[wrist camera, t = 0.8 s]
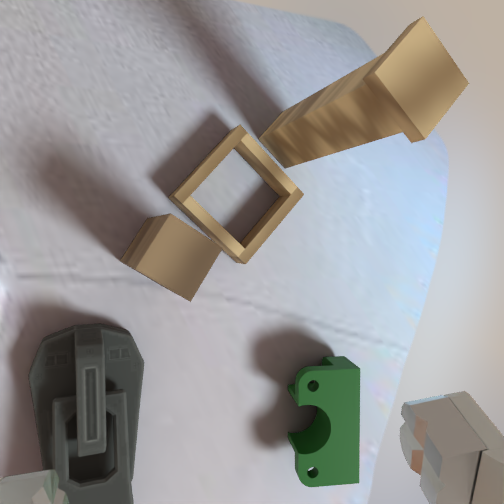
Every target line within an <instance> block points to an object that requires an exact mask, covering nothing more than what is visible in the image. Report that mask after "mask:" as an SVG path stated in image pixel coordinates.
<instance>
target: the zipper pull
mask: <svg viewBox="0 0 504 504" xmlns="http://www.w3.org/2000/svg"><path fill="white" fill-rule="evenodd" d="M143 371H144V361H143V358H142V356H141V354H140V352H139V350H138V348H137V346H136V343H135V341H134V339H133V337H132V335H131V334H130V332H129V331H128V330H124V329H120V328H116V327H112V326H108V325H104V324H88V325H76V326H72V327H70V328H67V329H64V330H62V331H59V332H57V333H54V334H52V335H49V336H47V337H45V338H44V339H43V340H42V342H41V345H40V347H39V349H38V352H37V354H36V357H35V359H34V361H33V364H32V366H31V369H30V373H29V383H30V388H31V394H32V400H33V406H34V412H35V418H36V425H37V431H38V438H39V444H40V451H41V457H42V464H43V470H44V471H45V470H54V469H55V471H56V473H57V475H58V477H59V483H58V487H57V488H58V489H60V490H62V491H64V492H65V493H66V495H67V498H68V501H69V504H133V495H132V486H131V481H132V479H133V472H134V461H135V451H136V440H137V430H138V419H139V408H140V398H141V389H142V380H143Z"/></svg>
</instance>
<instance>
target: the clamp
mask: <svg viewBox="0 0 504 504" xmlns="http://www.w3.org/2000/svg"><path fill="white" fill-rule="evenodd" d="M311 380H315V383H309V382H310V381H311ZM288 391H289V392H290V394H291V396H292V397H293V399H294V400H295V402H296V403H297V405H298V406H302V405H314V406H317V415H316V418H315V420H314V422H313V423H312V424H311V426H310V427H308V428H307V429H306V430H304V431H301V432H298V433H289V432H288V439H289V441H290V443H291V445H292V447H293V449H294V451H295V470H296V473H297V475H298V477H299V479H300V481H301V482H302V483H303V484H304V485H305V486H308V487H319V486H330V485H342V484H354V483H359V435H360V368H359V367H357V366H356V365H355V364H354V363H352V362H351V361H350V360H348V359H347V358H346V357H344V356H337V357H323V359H322V366H308V367H304V368H302V369H301V370H300V371H299V372H298V373H297V375H296V378H295V384H290V385H288ZM311 467H314V468H313V469H312V470H310V471H308V469H309V468H311Z"/></svg>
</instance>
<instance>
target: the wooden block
mask: <svg viewBox="0 0 504 504" xmlns="http://www.w3.org/2000/svg"><path fill="white" fill-rule="evenodd" d="M221 250H222V247H221V246H219V245H218V244H216V243H215V242H213V241H212V240H210V239H209V238H207V237H206V236H204V235H203V234H201V233H200V232H198V231H197V230H195V229H193V228H192V227H190V226H189V225H187V224H186V223H184V222H183V221H181V220H180V219H178V218H177V217H175V216H174V215H172V214H166V215H161V216H156V217H151V218H147V220H146V221H145V223H144V224H143V226H142V227H141V229H140V231H139V232H138V234H137V235H136V237H135V238H134V240H133V241H132V243H131V245H130V246H129V248H128V249H127V251H126V252H125V254H124V255H123V257H122V259H121V260H120V261H121V262H122V263H124V264H126V265H127V266H129V267H131V268H132V269H134V270H136V271H138V272H139V273H141V274H143V275H144V276H146V277H148V278H149V279H151V280H153V281H155V282H156V283H158V284H160V285H161V286H163V287H165V288H167V289H168V290H170V291H172V292H174V293H176V294H178V295H179V296H181V297H183V298H185V299H187V300H188V301H190V302H191V300H192V298H193V297H194V295H195V293H196V292H197V290H198V288H199V287H200V285H201V283H202V282H203V280H204V278H205V277H206V275H207V273H208V272H209V270H210V268H211V267H212V265H213V263H214V262H215V260H216V258H217V257H218V255H219V253H220V252H221Z"/></svg>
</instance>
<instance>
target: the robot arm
mask: <svg viewBox="0 0 504 504" xmlns="http://www.w3.org/2000/svg"><path fill="white" fill-rule="evenodd" d="M401 415H402V417H403V418H404V420H405V423H404V424H403V425H402V426H401V428H400V442H401V446H402V451H403V453H404V456H405V459H406V461H407V463H408V465H409V466H410V468H411V469H412V470H413V471H415V472H416V473H418V474H419V475H421V479H420V487H421V489H422V491H423V493H424V495H425V496H426V498H427V500H428V502H429V504H504V436H503V435H502V434H501V432H500V431H499V430H498V429H497V427H496V426H495V425H494V424H493V423H492V421H491V420H490V419H489V418H488V416H487V415H486V414H485V413H484V411H483V410H482V409H481V408H480V407H479V405H478V404H477V403H476V402H475V400H474V399H473V398H472V397H471V396H470V394H468V393H467V392H465V391H463V392H457V393H452V394H447V395H443V396H442V395H440V396H436V397H430V398H425V399H420V400H415V401H410V402H405V403H404V404H403V406H402V411H401ZM58 483H59V477H58V475H57V473H56V471H55V469H54V470H45V471H39V472H32V473H26V474H20V475H14V476H7V477H3V478H0V504H69V501H68V498H67V495H66V493H65V492H64V491H62V490H60V489H58V488H57V487H58Z"/></svg>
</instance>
